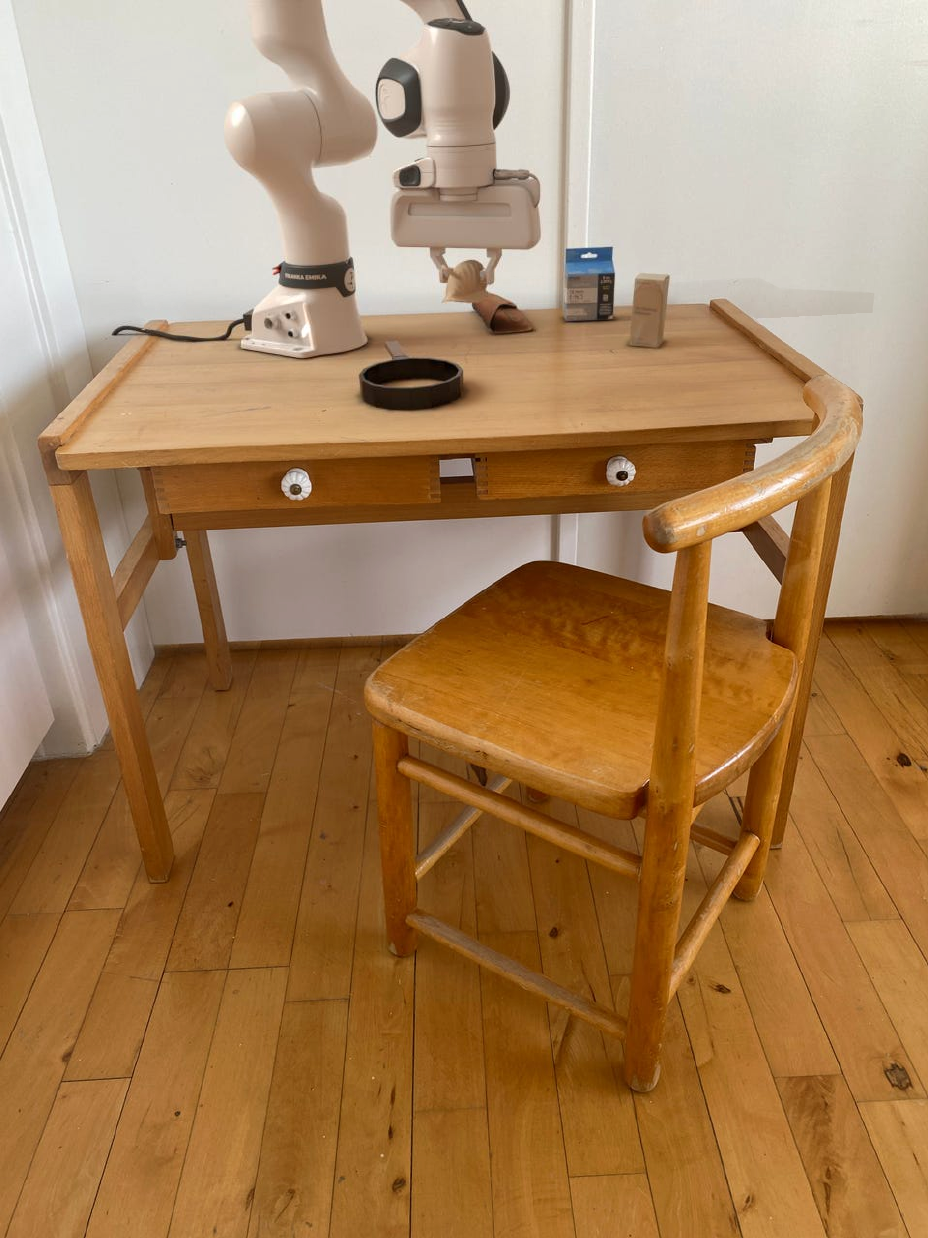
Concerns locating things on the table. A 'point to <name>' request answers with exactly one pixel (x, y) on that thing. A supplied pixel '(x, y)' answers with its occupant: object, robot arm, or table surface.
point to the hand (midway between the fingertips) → (466, 282)
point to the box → (649, 310)
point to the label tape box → (589, 284)
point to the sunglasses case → (501, 315)
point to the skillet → (410, 369)
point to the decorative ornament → (465, 283)
